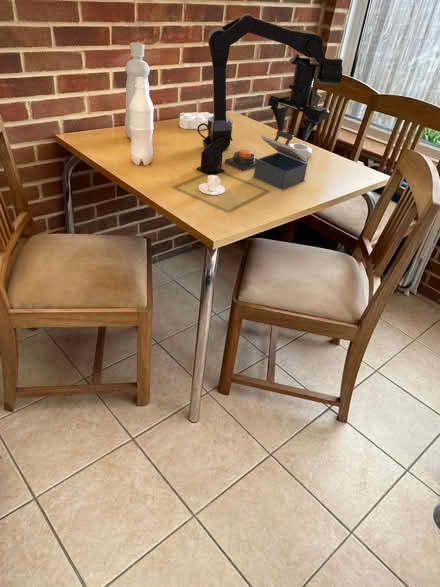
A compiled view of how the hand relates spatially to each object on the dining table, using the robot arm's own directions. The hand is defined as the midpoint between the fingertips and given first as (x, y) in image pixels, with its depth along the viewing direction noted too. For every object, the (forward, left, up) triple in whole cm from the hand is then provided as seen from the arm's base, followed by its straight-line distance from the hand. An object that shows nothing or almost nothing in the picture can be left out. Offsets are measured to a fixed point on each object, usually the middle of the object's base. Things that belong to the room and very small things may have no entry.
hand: (292, 136), depth 140 cm
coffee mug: (-2, +30, -13) cm, 33 cm away
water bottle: (-32, +33, -13) cm, 48 cm away
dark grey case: (-4, -1, -13) cm, 13 cm away
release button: (-4, +14, -10) cm, 18 cm away
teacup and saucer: (-25, +5, -13) cm, 29 cm away
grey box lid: (-4, -1, -4) cm, 5 cm away
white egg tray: (+12, +51, -13) cm, 54 cm away
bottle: (-19, +51, -13) cm, 56 cm away
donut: (+19, +8, -13) cm, 25 cm away
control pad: (-4, +14, -13) cm, 20 cm away
